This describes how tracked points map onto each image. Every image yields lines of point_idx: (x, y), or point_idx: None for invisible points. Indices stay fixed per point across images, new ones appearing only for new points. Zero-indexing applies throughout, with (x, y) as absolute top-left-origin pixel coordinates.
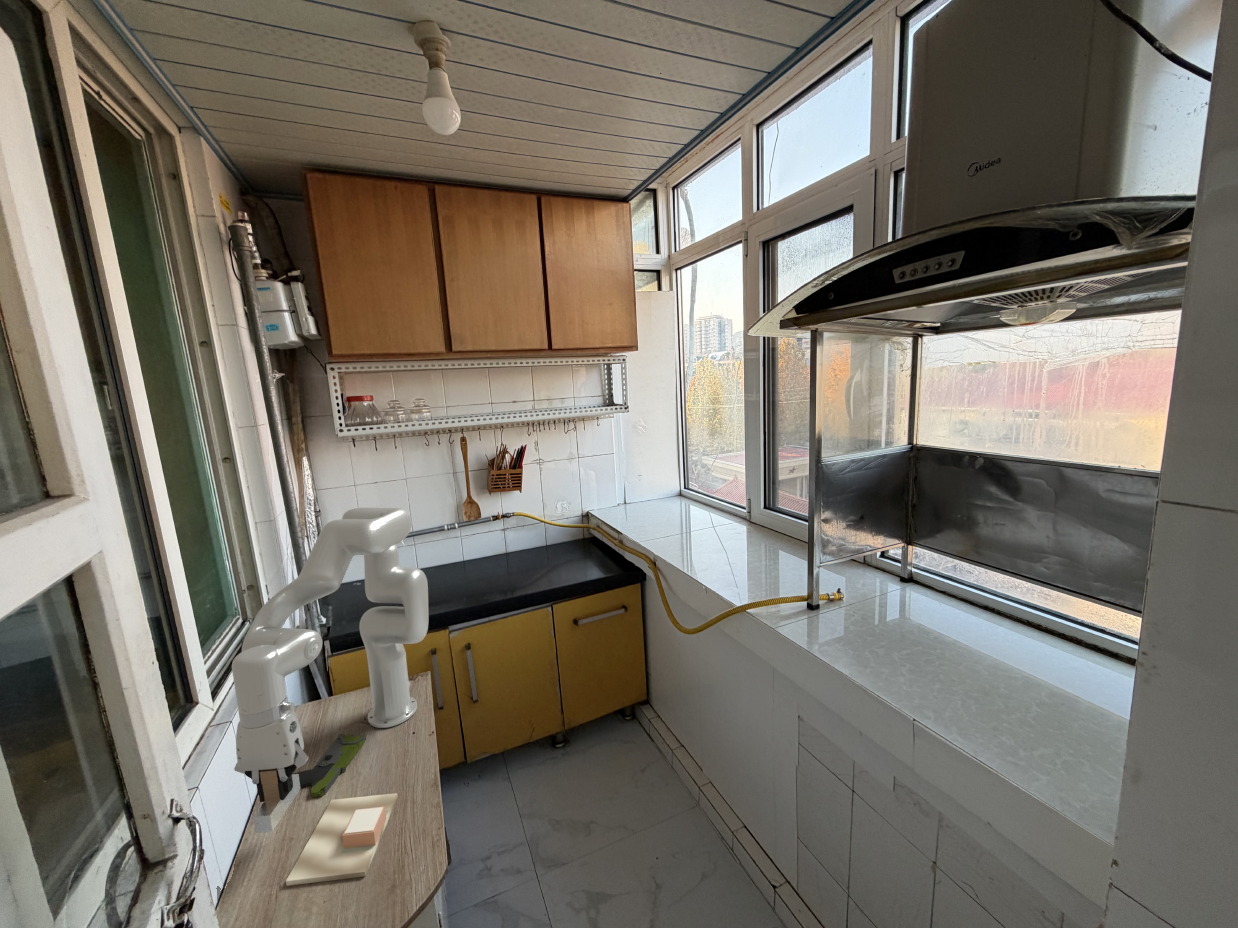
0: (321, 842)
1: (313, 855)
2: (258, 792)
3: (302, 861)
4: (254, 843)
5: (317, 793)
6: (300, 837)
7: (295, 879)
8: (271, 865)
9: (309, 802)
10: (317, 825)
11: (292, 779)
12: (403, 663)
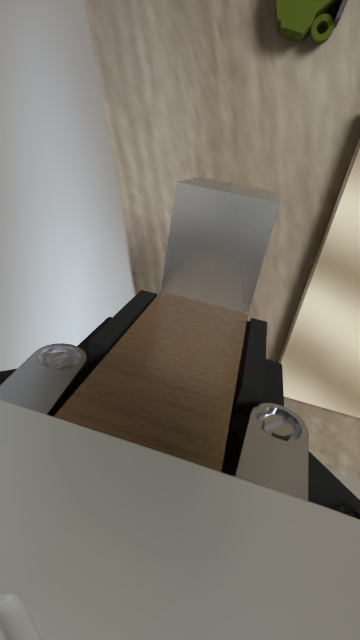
0: (348, 312)
1: (329, 347)
2: None
3: (301, 355)
4: (143, 221)
5: (305, 31)
6: (273, 246)
7: (292, 396)
8: None
9: (273, 69)
10: (328, 236)
11: (251, 250)
12: None
